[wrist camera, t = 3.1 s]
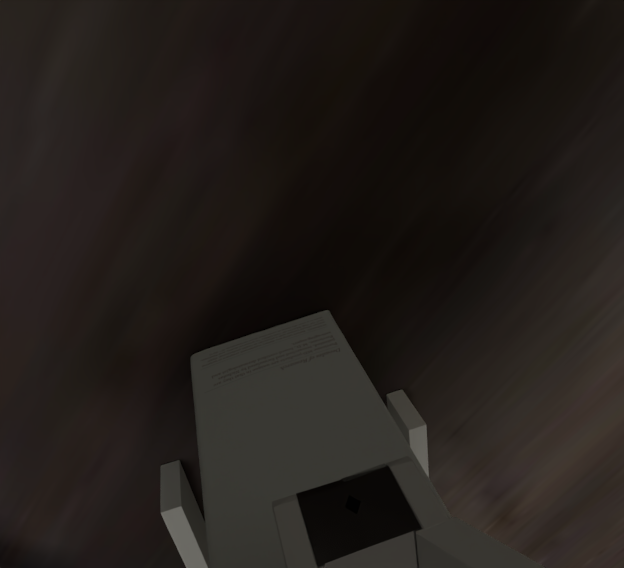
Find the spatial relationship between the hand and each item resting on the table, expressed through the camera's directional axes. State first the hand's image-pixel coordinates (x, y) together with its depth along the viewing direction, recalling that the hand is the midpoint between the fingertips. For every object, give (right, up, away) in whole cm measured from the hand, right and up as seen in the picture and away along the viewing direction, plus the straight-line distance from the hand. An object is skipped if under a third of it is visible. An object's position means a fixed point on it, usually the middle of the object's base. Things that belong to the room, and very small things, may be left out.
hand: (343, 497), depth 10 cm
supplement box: (-3, -1, +16) cm, 16 cm away
